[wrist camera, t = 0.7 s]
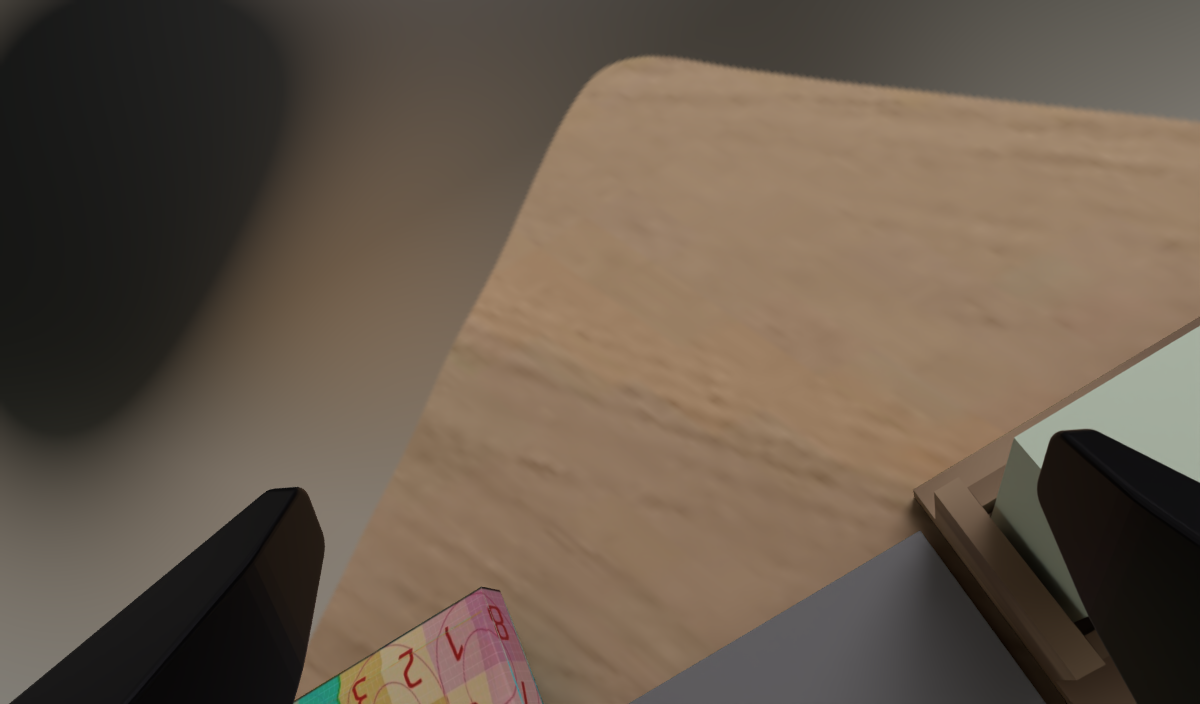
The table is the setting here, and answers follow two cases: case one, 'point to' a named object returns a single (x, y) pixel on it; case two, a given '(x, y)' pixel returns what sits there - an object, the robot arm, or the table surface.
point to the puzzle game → (442, 662)
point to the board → (1122, 412)
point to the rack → (1012, 586)
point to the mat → (864, 646)
